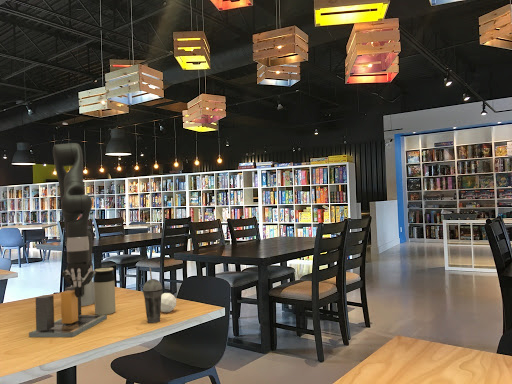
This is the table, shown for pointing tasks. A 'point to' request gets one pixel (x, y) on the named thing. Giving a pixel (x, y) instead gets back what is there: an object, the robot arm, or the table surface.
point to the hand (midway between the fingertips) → (79, 297)
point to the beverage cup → (152, 299)
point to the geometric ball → (167, 302)
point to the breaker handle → (69, 306)
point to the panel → (57, 328)
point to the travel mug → (104, 291)
